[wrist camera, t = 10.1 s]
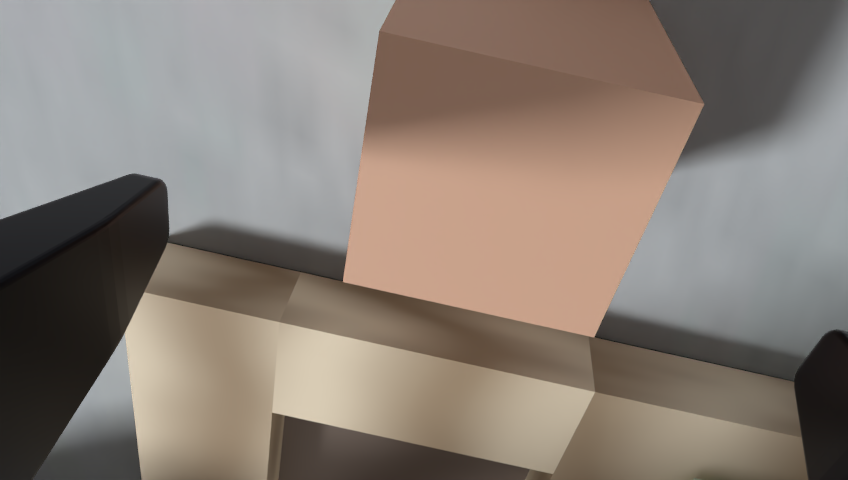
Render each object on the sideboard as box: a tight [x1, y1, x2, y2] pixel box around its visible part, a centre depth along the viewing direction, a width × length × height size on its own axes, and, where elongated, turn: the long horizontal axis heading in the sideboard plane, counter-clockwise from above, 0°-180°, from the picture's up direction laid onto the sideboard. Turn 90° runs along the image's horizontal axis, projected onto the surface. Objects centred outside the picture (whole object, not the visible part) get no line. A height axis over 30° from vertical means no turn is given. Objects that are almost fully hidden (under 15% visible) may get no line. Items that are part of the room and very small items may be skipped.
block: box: [343, 0, 704, 337], centre depth 12 cm, size 4×4×5 cm
